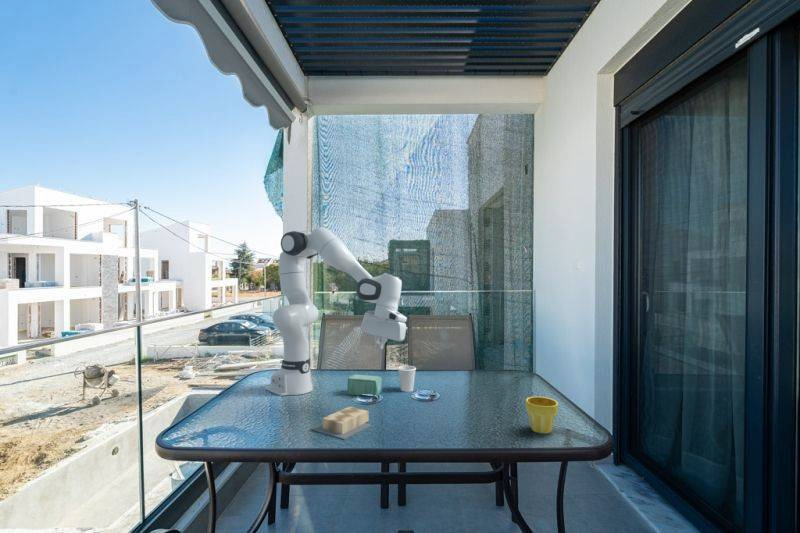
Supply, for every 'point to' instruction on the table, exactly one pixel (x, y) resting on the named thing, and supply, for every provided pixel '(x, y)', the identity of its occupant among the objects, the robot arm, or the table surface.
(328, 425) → the oak slab
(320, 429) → the mat
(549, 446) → the table surface
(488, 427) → the table surface
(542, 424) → the plant pot
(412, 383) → the dixie cup
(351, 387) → the box
